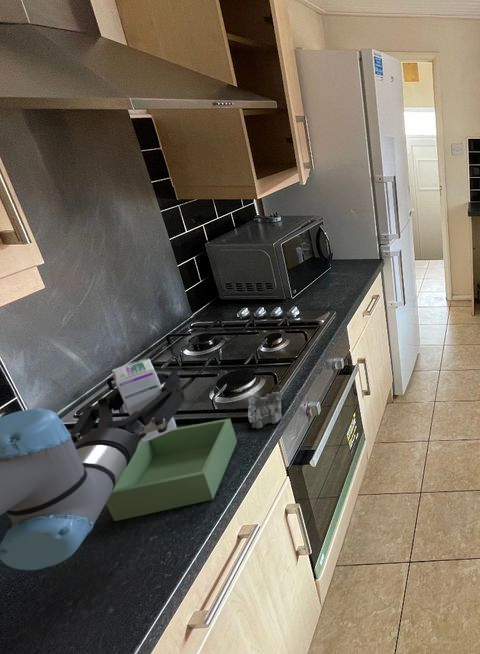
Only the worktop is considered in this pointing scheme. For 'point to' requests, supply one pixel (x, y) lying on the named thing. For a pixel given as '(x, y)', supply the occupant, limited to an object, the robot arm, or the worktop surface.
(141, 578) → the worktop surface
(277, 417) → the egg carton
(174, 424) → the syrup box
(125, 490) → the storage tray
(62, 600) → the worktop surface
